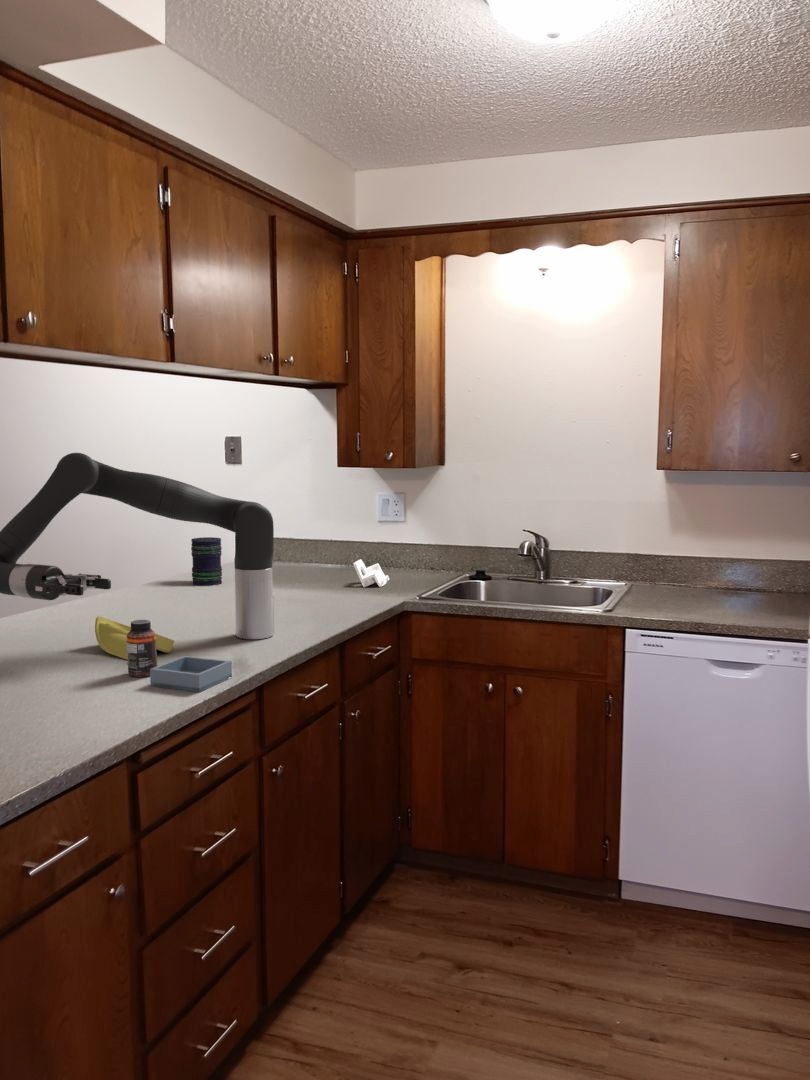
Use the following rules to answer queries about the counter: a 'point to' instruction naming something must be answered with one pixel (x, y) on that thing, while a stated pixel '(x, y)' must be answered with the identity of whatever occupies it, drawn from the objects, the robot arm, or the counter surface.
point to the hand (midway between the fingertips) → (96, 587)
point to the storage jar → (206, 561)
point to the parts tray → (190, 673)
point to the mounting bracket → (370, 574)
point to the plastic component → (122, 638)
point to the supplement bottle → (141, 649)
